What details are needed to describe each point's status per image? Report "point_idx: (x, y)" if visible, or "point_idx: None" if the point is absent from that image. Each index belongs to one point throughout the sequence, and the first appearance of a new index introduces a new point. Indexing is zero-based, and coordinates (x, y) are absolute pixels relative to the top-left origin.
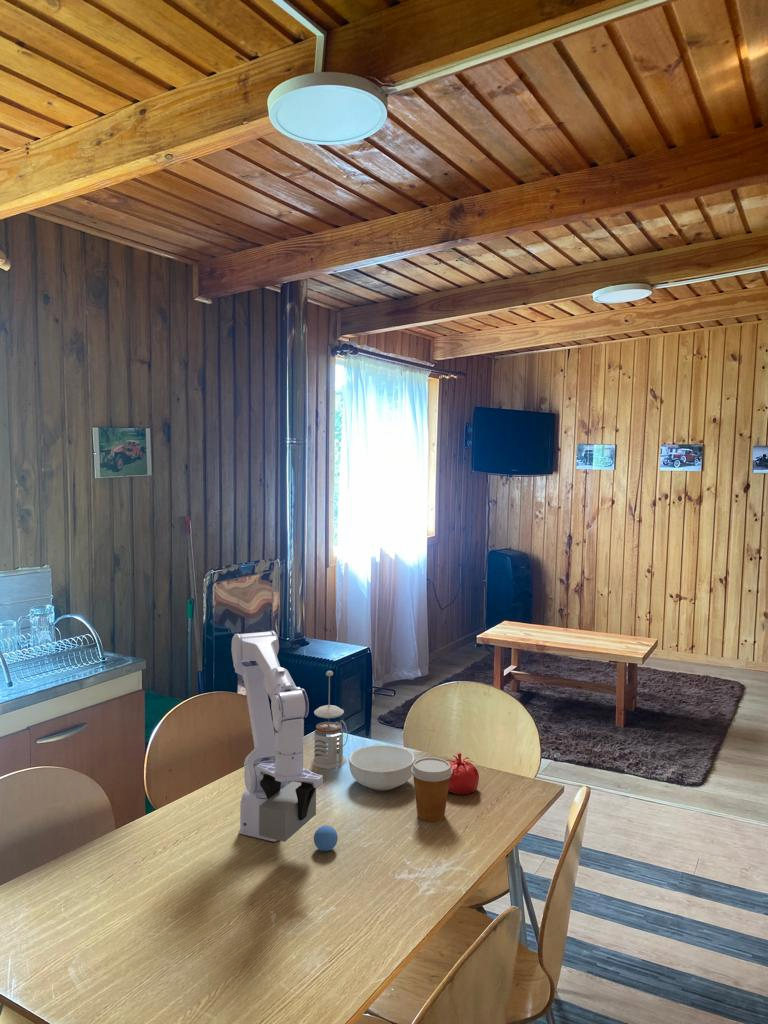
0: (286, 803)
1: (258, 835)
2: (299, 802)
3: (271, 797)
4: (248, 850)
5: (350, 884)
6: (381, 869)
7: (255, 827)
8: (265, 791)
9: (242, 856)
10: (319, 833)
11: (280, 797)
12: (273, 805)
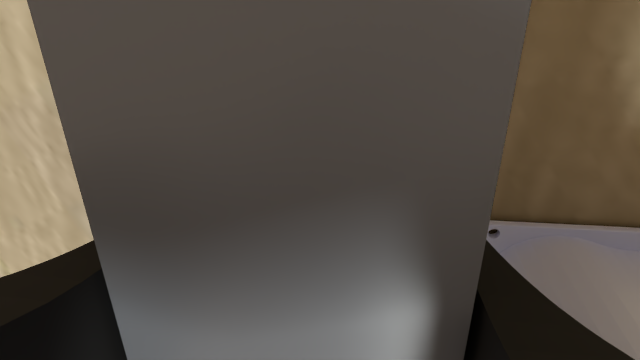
0: (185, 210)
1: (572, 235)
2: (66, 273)
3: (463, 286)
4: (574, 119)
5: (15, 52)
6: (5, 191)
7: (608, 261)
8: (601, 354)
9: (583, 56)
10: None
11: (350, 317)
12: (309, 91)
